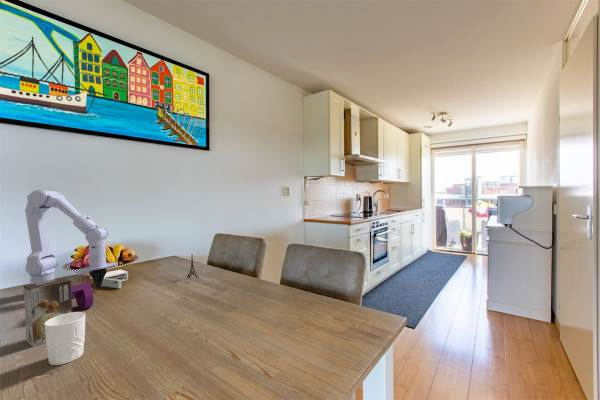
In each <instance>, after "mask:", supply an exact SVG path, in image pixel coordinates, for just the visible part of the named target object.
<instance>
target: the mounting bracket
mask: <svg viewBox="0 0 600 400" xmlns="http://www.w3.org/2000/svg"><path fill="white" fill-rule="evenodd" d="M71 292H72V300H74V299H75V301H76V305H77V307H78V308H79V309H80V310H82V311H83V310H86V309H90V308H91V307H93V305H94V294H93V288H92V284H91V282H90V281H88V282H84V283H81V284H76V285H71Z"/></svg>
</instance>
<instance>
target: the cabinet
mask: <svg viewBox="0 0 600 400" xmlns="http://www.w3.org/2000/svg"><path fill="white" fill-rule="evenodd" d="M104 278H108V279H117V280H121V283H122V282H124V281H128V280H129V271H128V270H127V271H126V270H123V269H117V270H116V269H115V270H111V271H107V273H106V275H105V276H104ZM101 287H102V285H101Z"/></svg>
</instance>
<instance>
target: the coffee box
mask: <svg viewBox="0 0 600 400" xmlns="http://www.w3.org/2000/svg"><path fill="white" fill-rule="evenodd" d="M71 286H72V280H71V279H68V278H66V277H65V278H64V277H60V278H55V279H54V280H49V281H44V282H39V283H35V284H30V283H29V284H27V285H23V298H24V301H23V302H24V321H25V341H26V342H27V343H28V344H29V345H30V346H31V347H33V348H35V347H37V346H40V345H43V344H46V336H45V325H44V323H45V322H46V321H47V320H49V319H51V318H53V317H56V316H59V315H62V314H66V313H72V312H73V299H72V292H71Z"/></svg>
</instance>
